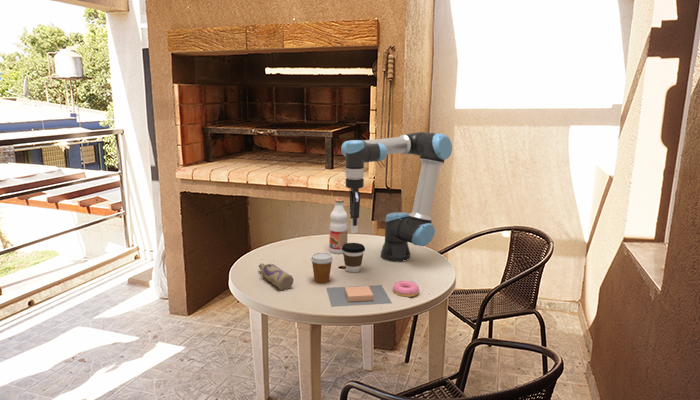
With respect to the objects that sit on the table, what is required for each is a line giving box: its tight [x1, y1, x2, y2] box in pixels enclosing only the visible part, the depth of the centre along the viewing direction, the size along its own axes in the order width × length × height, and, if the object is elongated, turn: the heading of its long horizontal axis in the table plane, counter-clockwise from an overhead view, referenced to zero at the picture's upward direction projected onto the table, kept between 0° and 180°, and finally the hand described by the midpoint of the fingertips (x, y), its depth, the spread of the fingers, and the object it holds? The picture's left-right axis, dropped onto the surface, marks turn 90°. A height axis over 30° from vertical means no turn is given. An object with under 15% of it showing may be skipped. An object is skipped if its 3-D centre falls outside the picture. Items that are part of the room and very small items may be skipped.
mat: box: [325, 284, 393, 308], centre depth 183 cm, size 24×18×1 cm
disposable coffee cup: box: [310, 252, 334, 284], centre depth 196 cm, size 10×10×12 cm
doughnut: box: [392, 280, 420, 298], centre depth 187 cm, size 11×11×4 cm
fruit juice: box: [329, 198, 349, 255], centre depth 235 cm, size 9×9×28 cm
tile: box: [344, 285, 373, 302], centre depth 181 cm, size 10×2×9 cm
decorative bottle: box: [258, 263, 294, 291], centre depth 198 cm, size 26×8×7 cm, turn 35°
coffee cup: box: [342, 242, 366, 274], centre depth 210 cm, size 11×11×12 cm
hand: (354, 232), depth 192 cm, fingers closed
